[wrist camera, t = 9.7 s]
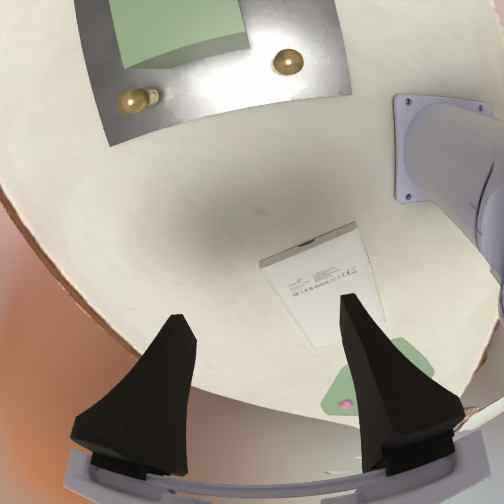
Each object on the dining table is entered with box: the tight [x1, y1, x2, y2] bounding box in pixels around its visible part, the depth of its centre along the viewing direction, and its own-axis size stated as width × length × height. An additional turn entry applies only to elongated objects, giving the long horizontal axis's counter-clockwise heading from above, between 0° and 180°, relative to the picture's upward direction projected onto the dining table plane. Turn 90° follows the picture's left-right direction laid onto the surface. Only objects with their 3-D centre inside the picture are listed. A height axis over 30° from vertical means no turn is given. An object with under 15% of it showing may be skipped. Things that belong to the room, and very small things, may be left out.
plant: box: [320, 337, 434, 416], centre depth 33 cm, size 25×21×9 cm
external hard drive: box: [259, 222, 386, 349], centre depth 24 cm, size 2×8×12 cm
